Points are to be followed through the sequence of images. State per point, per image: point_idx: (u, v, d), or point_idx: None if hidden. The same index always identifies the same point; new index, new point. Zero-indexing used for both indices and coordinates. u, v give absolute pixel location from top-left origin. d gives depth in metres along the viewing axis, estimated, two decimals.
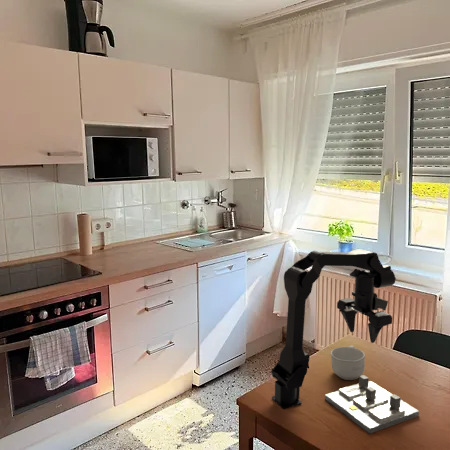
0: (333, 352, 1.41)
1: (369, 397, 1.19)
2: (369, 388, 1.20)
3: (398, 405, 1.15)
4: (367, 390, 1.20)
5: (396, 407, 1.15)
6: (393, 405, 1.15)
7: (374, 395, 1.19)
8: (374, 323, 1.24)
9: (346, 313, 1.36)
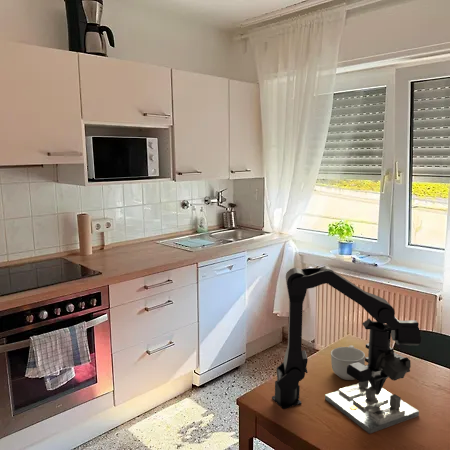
0: (333, 352, 1.41)
1: (369, 397, 1.19)
2: (369, 388, 1.20)
3: (398, 405, 1.15)
4: (367, 390, 1.20)
5: (396, 407, 1.15)
6: (393, 405, 1.15)
7: (374, 395, 1.19)
8: None
9: None
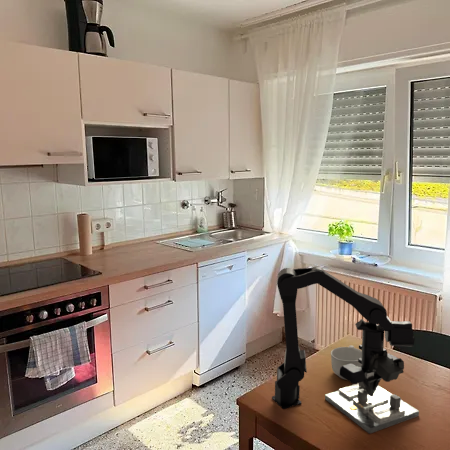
0: (333, 352, 1.41)
1: (361, 400, 1.18)
2: (361, 391, 1.19)
3: (398, 405, 1.15)
4: (359, 393, 1.19)
5: (396, 407, 1.15)
6: (393, 405, 1.15)
7: (366, 398, 1.18)
8: None
9: None
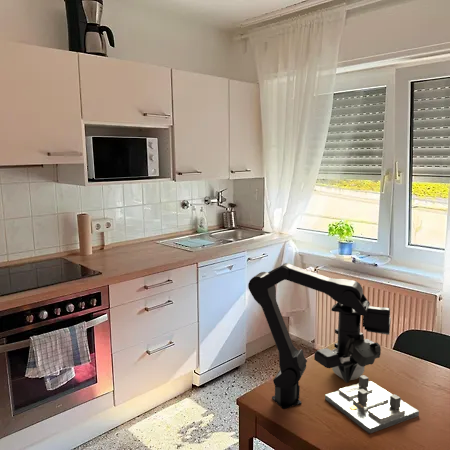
0: None
1: (361, 400, 1.18)
2: (361, 391, 1.19)
3: (398, 405, 1.15)
4: (359, 393, 1.19)
5: (396, 407, 1.15)
6: (393, 405, 1.15)
7: (366, 398, 1.18)
8: None
9: None
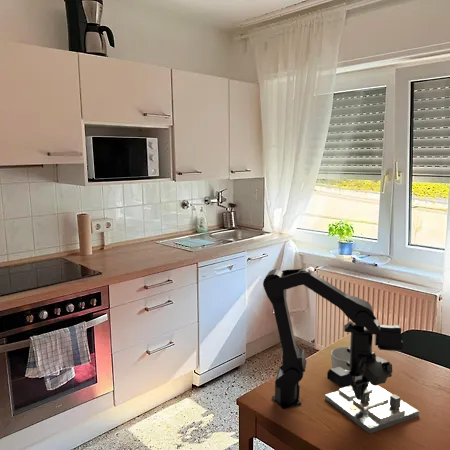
0: (333, 352, 1.41)
1: (363, 399, 1.18)
2: None
3: (398, 405, 1.15)
4: None
5: (396, 407, 1.15)
6: (393, 405, 1.15)
7: (368, 397, 1.18)
8: None
9: None
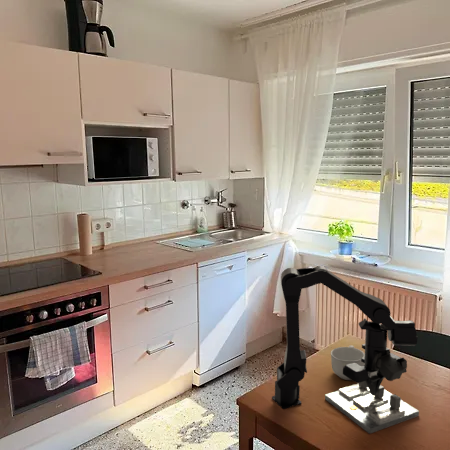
0: (333, 352, 1.41)
1: (377, 394, 1.21)
2: None
3: (398, 405, 1.15)
4: None
5: (396, 407, 1.15)
6: (393, 405, 1.15)
7: (382, 392, 1.21)
8: None
9: None
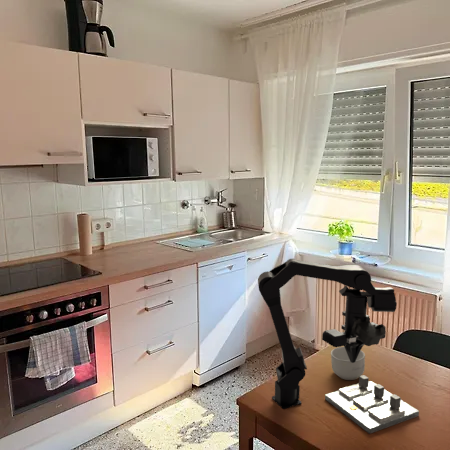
0: (333, 352, 1.41)
1: (377, 394, 1.21)
2: (377, 386, 1.21)
3: (398, 405, 1.15)
4: (375, 388, 1.21)
5: (396, 407, 1.15)
6: (393, 405, 1.15)
7: (382, 392, 1.21)
8: None
9: None
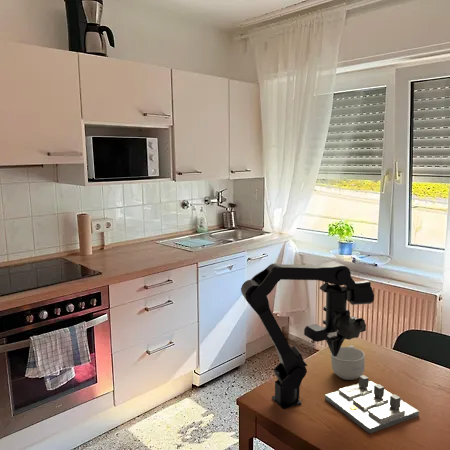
0: None
1: (377, 394, 1.21)
2: (377, 386, 1.21)
3: (398, 405, 1.15)
4: (375, 388, 1.21)
5: (396, 407, 1.15)
6: (393, 405, 1.15)
7: (382, 392, 1.21)
8: None
9: None
